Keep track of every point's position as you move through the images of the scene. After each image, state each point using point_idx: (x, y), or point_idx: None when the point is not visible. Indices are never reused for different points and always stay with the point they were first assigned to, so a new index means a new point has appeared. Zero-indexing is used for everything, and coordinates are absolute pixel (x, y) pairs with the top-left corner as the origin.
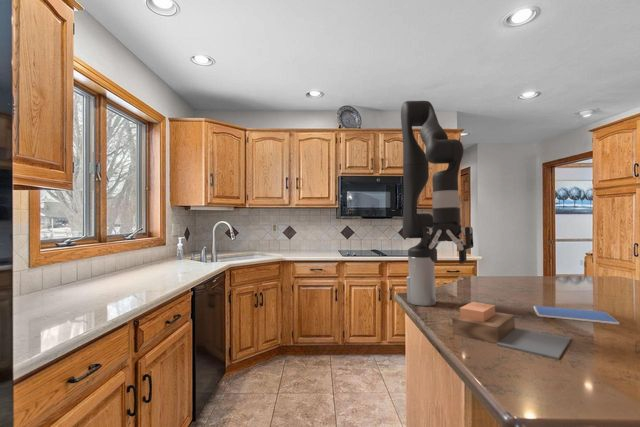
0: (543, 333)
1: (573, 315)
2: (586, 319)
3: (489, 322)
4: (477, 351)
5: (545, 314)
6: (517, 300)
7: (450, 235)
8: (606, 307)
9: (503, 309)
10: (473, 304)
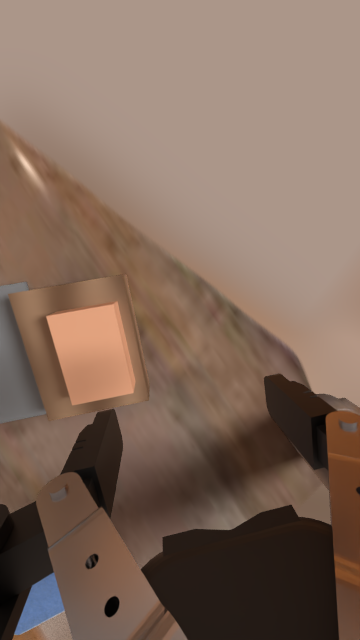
0: (8, 416)
1: None
2: None
3: (44, 316)
4: (26, 214)
5: None
6: None
7: (144, 631)
8: None
9: (160, 515)
10: (113, 368)
